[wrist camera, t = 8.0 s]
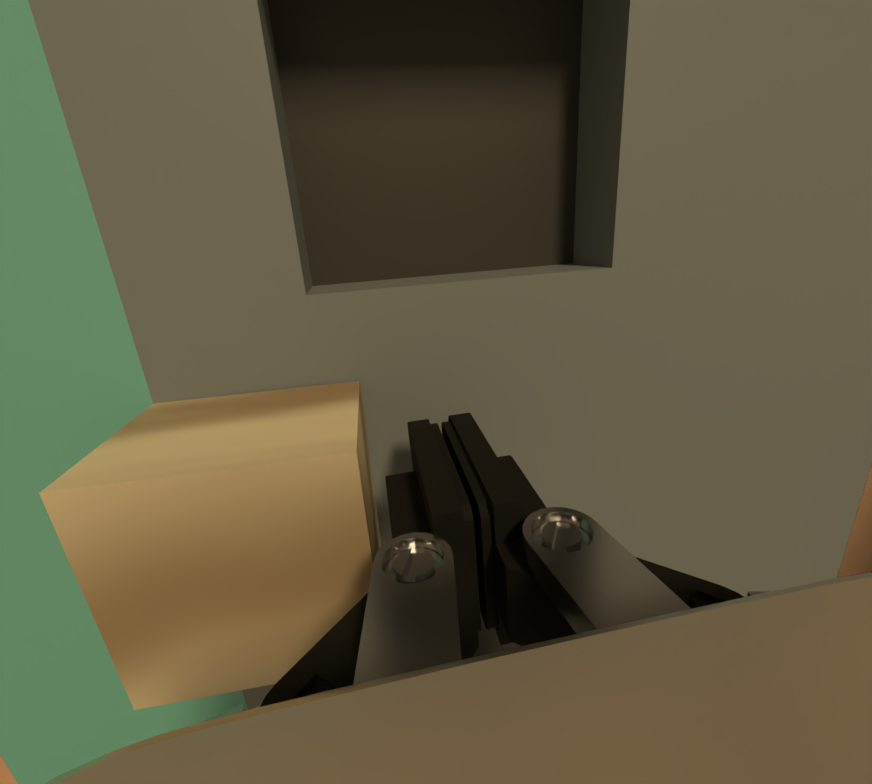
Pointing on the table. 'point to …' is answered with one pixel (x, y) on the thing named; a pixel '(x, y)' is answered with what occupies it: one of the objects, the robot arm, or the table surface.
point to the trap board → (437, 273)
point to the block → (221, 536)
